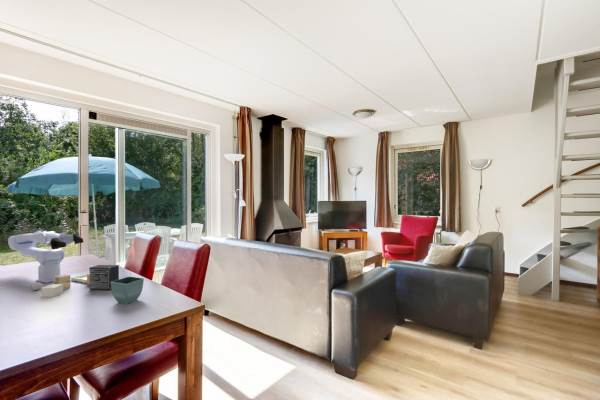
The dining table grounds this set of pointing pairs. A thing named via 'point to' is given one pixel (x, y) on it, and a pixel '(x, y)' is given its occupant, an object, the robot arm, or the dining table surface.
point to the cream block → (52, 290)
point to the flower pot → (127, 289)
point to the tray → (80, 278)
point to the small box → (103, 276)
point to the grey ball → (37, 286)
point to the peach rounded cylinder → (88, 279)
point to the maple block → (63, 280)
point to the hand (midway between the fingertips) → (74, 242)
